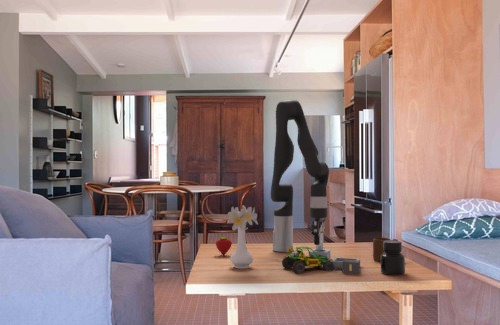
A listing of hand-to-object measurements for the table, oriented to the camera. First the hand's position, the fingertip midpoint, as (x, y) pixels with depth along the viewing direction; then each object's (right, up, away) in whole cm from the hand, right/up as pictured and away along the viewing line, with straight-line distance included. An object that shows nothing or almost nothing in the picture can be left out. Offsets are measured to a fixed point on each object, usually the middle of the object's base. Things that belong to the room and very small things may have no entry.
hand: (319, 243), depth 204 cm
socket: (0, -7, 0) cm, 7 cm away
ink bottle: (+24, -7, -28) cm, 37 cm away
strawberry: (-43, -8, +13) cm, 46 cm away
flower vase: (-34, -7, -16) cm, 38 cm away
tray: (+8, -7, -17) cm, 20 cm away
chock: (+8, -7, -26) cm, 28 cm away
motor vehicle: (-8, -7, -20) cm, 22 cm away
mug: (+29, -7, -2) cm, 30 cm away
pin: (0, -7, 0) cm, 7 cm away
